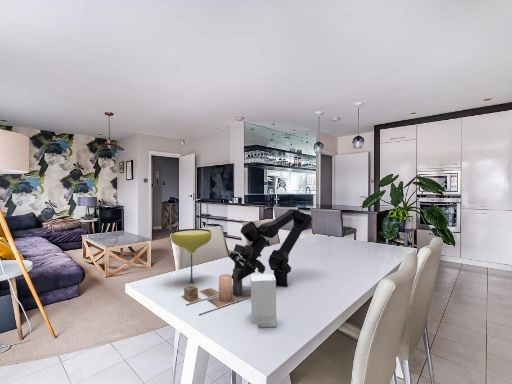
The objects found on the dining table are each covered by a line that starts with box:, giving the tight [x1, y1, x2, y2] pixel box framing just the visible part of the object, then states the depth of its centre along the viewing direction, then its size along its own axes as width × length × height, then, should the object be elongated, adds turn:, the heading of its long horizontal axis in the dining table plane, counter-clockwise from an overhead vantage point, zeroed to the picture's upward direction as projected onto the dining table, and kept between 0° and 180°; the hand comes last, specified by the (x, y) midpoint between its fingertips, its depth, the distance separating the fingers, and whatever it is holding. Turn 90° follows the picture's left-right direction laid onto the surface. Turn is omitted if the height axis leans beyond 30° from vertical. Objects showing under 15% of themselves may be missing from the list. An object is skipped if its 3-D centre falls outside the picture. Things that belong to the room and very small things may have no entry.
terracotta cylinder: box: [218, 273, 233, 302], centre depth 103 cm, size 5×5×9 cm
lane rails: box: [185, 289, 250, 317], centre depth 101 cm, size 22×11×1 cm, turn 130°
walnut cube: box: [183, 284, 199, 302], centre depth 105 cm, size 4×4×4 cm
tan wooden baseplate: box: [206, 268, 251, 308], centre depth 104 cm, size 16×8×12 cm, turn 130°
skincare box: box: [250, 273, 277, 328], centre depth 88 cm, size 8×7×16 cm
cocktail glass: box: [170, 228, 212, 285], centre depth 121 cm, size 18×18×25 cm
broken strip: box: [180, 287, 219, 304], centre depth 107 cm, size 14×8×1 cm, turn 130°
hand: (234, 279), depth 106 cm, fingers closed on tan wooden baseplate, 3 cm apart
